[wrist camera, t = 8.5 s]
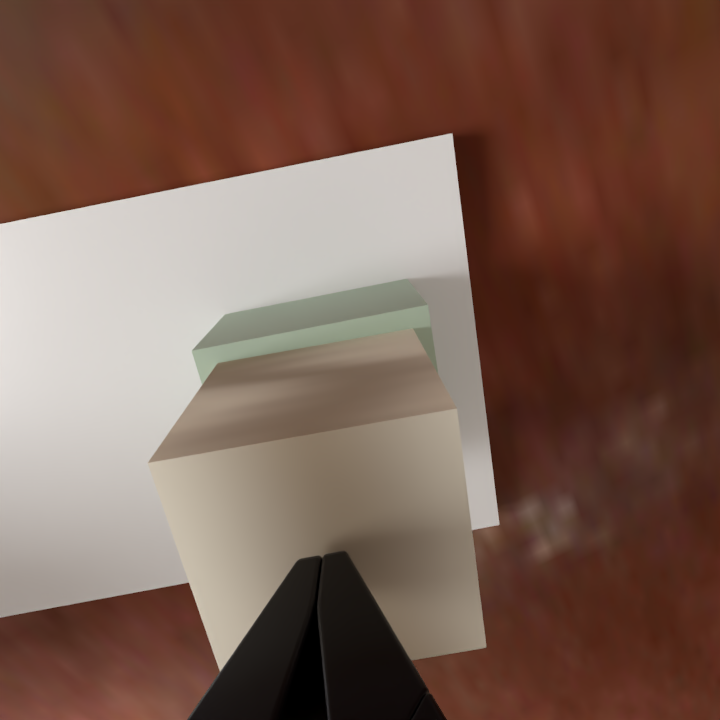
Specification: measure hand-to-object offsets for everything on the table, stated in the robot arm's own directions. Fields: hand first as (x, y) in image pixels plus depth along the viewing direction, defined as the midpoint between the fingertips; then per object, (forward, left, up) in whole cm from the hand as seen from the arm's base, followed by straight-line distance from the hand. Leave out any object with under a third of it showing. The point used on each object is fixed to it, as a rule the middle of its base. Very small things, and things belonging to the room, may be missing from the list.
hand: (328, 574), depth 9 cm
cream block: (0, 0, -5) cm, 5 cm away
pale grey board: (-5, 0, -10) cm, 11 cm away
